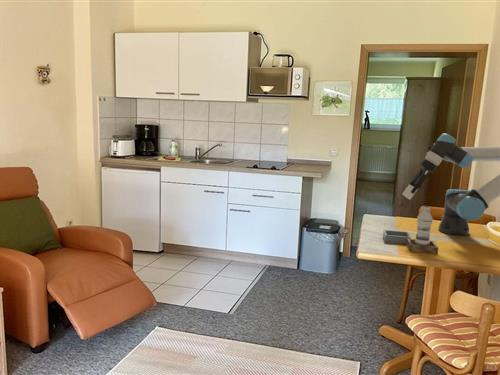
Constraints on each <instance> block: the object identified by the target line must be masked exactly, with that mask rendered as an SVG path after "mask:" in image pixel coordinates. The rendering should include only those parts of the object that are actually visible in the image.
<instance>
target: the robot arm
mask: <svg viewBox="0 0 500 375" xmlns="http://www.w3.org/2000/svg"><path fill="white" fill-rule="evenodd" d="M456 142H457V139H456V138H454V137H453V136H452V135H450V134H448V133H444V132H443V133H442V134H441V135H440V136H439V137H438V138H437V139H436V141H435V142H434V144H433V146H432V147H431V148H430V149H429V151H428V152H426V156H424V157H425V158H424V159H422V161H421V163H420V165H419V166H421V167H422V168H420V169H419V170H418V171H417V173H416V175H414V176H413V178H412V179H411V181H409V184H407V187H406V188H405V190H404V191H403V192H402V194H401V195H402V196H403V197H405V198H406V199H408V200H409V201H411V199H412V198H413V197H414V195H415V194H416V193H417V191H418V190H419V189H420V188H421V187H422V186H423V184H424V181H425V180H426V178H427V177H428V176H429V174H430V173H434V172H435V171H436V169H437V168H438V166H439V165H440V164H441V162H442V161H445V162H448V163H453V164H455V165H458V166H459V167H461V168H462V169H466V168H468V167H469V166H470V165H471V164H472V163H473V162H500V146H459V145H457V144H456ZM499 197H500V174H498V175H496V176H495V177H494V178H492V179H491V180H489V181H488V182H486V183H485V184H484V185H482V186H481V187H479V188H472V189H470V190H468V189H467V190H466V189H454V188H453V189H447V190H446V193H445V199H444V200H445V201H444V207H443V208H444V209H443V215H442V219H441V221H440V223H439V225H438V231H439V232H442V233H445V234H448V235H449V234H450V235H456V236H465V235H466V236H467V235H469V234H470V227H469V221H476V220H478V219H480V218H481V217H482V216H483V215H484V214H485V210H487V209H488V208H489V207H490V204H491V202H493V201H494V200H496V199H497V198H499Z"/></svg>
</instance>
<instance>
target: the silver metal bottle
mask: <svg viewBox="0 0 500 375" xmlns="http://www.w3.org/2000/svg"><path fill="white" fill-rule="evenodd" d="M416 218H417V220H416V221H417V224H416V225H417V227H416V228H417V230H416V236H415V238H414V239H415V242H414V245H423V246H430V241H431V240H430V237H431V236H430V234H431V227H432V224H433V219H434V218H433V215H432V214H431V206H428V205H421V210H420V213H419V214H418V216H417V217H416Z"/></svg>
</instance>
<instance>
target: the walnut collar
mask: <svg viewBox="0 0 500 375" xmlns="http://www.w3.org/2000/svg"><path fill="white" fill-rule="evenodd" d="M415 239H416V238H411V239H407V242H406V244H405V245H406V247H407V249H408V251H409V252H414V253H424V254H434V255H435V254H436V255H438V253H439V246H438V245H437V244H436V242H435V241H434V240H430V246H423V245H414V242H415Z"/></svg>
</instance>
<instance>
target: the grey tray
mask: <svg viewBox="0 0 500 375" xmlns="http://www.w3.org/2000/svg"><path fill="white" fill-rule="evenodd" d="M382 237H383V242H384V243H387V244H389V243H391V244H401V245H406V242H407V239H412V237H411V235H410V234H409V232H408V231H400V230H390V229H389V230H388V229H383V234H382Z"/></svg>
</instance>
